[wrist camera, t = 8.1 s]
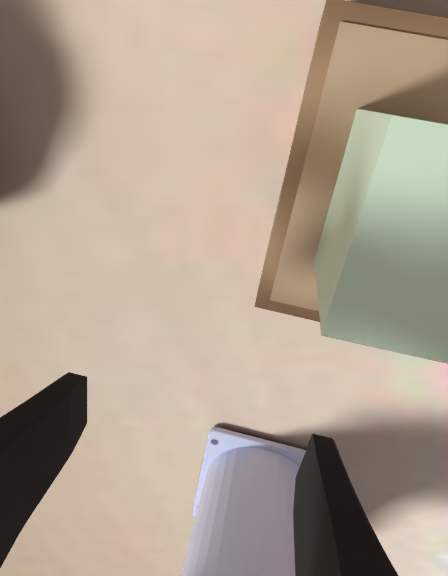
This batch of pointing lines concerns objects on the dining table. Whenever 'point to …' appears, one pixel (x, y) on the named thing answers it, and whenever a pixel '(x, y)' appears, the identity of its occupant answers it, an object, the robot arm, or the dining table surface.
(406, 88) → the brown shallow tray
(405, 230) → the green cube
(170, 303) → the dining table surface
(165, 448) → the dining table surface
